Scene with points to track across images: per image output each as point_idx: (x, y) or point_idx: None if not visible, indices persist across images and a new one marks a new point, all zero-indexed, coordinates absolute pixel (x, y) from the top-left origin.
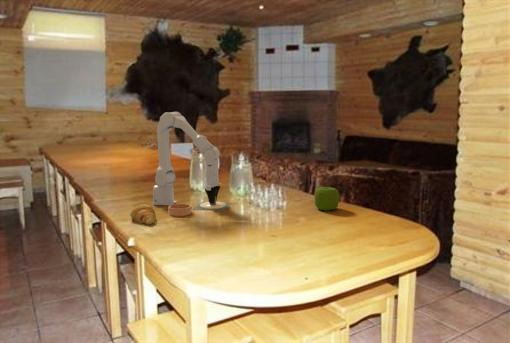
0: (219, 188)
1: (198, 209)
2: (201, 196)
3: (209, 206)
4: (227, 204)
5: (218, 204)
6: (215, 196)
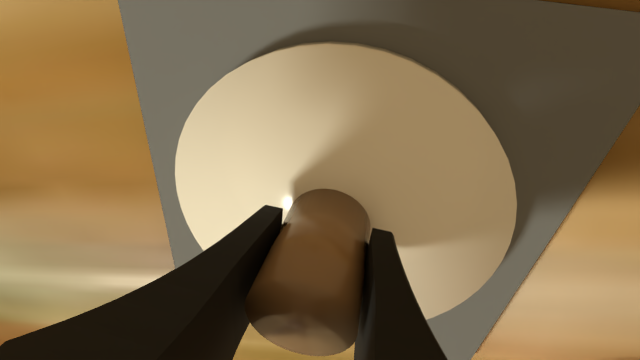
0: (66, 356)
1: (475, 330)
2: (14, 280)
3: (434, 258)
4: (217, 27)
5: (326, 160)
6: (324, 288)
